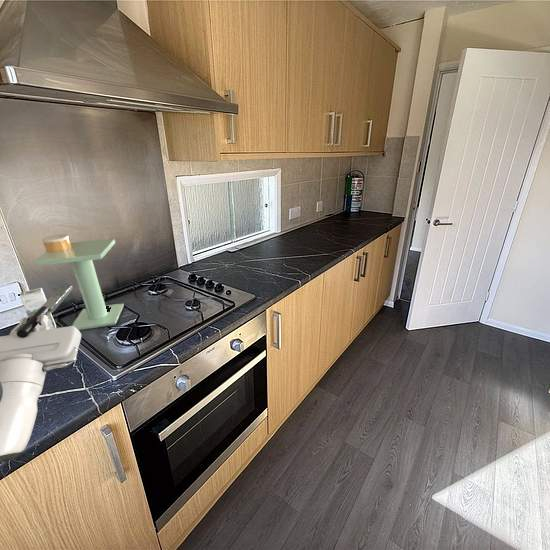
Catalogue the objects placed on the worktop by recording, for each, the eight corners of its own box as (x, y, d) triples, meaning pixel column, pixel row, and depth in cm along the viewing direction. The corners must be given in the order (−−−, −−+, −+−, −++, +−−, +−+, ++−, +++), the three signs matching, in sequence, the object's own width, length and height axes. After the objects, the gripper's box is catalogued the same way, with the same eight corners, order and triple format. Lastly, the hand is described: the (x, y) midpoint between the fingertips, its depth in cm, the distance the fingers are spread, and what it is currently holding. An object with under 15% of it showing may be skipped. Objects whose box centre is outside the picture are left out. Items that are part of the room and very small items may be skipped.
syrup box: (55, 324, 102) (41, 286, 96) (57, 331, 98) (42, 292, 92) (35, 330, 99) (19, 291, 93) (36, 337, 95) (19, 298, 89)
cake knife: (31, 336, 64) (28, 328, 63) (15, 339, 63) (12, 331, 62) (73, 289, 86) (71, 283, 85) (61, 290, 86) (59, 284, 85)
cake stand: (120, 326, 99) (97, 241, 88) (59, 336, 95) (25, 248, 83) (130, 302, 115) (111, 227, 104) (78, 309, 111) (52, 232, 99)
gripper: (68, 360, 60) (78, 304, 68) (-52, 380, 56) (-26, 317, 64) (81, 370, 65) (89, 317, 73) (-29, 390, 61) (-7, 331, 69)
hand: (35, 317), depth 69 cm, fingers closed on cake knife, 2 cm apart
